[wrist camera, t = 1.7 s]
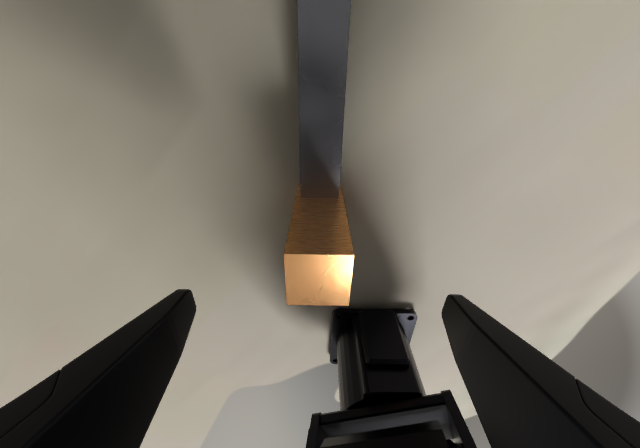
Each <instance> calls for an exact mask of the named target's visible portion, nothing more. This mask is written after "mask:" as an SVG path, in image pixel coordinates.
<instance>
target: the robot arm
mask: <svg viewBox="0 0 640 448" xmlns="http://www.w3.org/2000/svg"><path fill="white" fill-rule="evenodd" d="M195 313H196V304H195V301H194V298H193V294H192V291H191V290H189V289H178V290H176V291H175V292H173V293H172V294H170V295H169V296H167V297H166V298H164V299H163V300H161V301H160V302H158V303H157V304H155V305H154V306H152V307H151V308H149V309H148V310H146V311H145V312H144V313H142V314H141V315H139V316H138V317H136V318H135V319H133V320H132V321H130V322H129V323H127V324H126V325H124V326H123V327H121V328H120V329H118V330H117V331H116V332H114V333H113V334H111V335H110V336H108V337H107V338H105V339H104V340H102V341H101V342H99V343H98V344H96V345H95V346H93V347H92V348H90V349H89V350H87V351H86V352H85V353H83V354H82V355H80V356H79V357H77V358H76V359H74V360H73V361H71V362H70V363H68V364H67V365H65V366H64V367H63V368H62V369H61V370H58V371H56V372H55V373H53V374H52V375H50V376H49V377H48V378H46V379H45V380H43V381H42V382H40V383H39V384H37V385H36V386H34V387H33V388H31V389H29V390H28V391H26V392H25V393H23V394H22V395H20V396H19V397H17V398H16V399H14V400H13V401H11V402H9V403H8V404H6V405H5V406H3V407H1V408H0V448H140V445H141V443H142V441H143V439H144V437H145V434H146V432H147V430H148V428H149V426H150V423H151V421H152V419H153V417H154V415H155V412H156V410H157V408H158V406H159V404H160V401H161V399H162V397H163V395H164V393H165V390H166V388H167V386H168V384H169V381H170V379H171V377H172V375H173V373H174V370H175V368H176V366H177V364H178V362H179V359H180V357H181V354H182V352H183V349H184V346H185V343H186V340H187V337H188V334H189V331H190V328H191V325H192V322H193V319H194V316H195ZM442 319H443V322H444V325H445V329H446V332H447V335H448V339H449V342H450V345H451V349H452V352H453V355H454V358H455V361H456V363H457V366H458V368H459V371H460V373H461V376H462V378H463V381H464V383H465V385H466V388H467V390H468V393H469V395H470V397H471V400H472V402H473V405H474V407H475V409H476V412H477V414H478V417H479V419H480V421H481V424H482V426H483V428H484V431H485V433H486V436H487V438H488V440H489V443H490V445H491V448H640V422H639V421H637V420H636V419H634V418H633V417H631V416H629V415H628V414H627V413H625V412H624V411H622V410H620V409H619V408H618V407H616V406H615V405H613V404H612V403H611V402H609V401H608V400H606V399H605V398H604V397H602V396H601V395H599V394H598V393H596V392H595V391H594V390H592V389H591V388H589V387H588V386H587V385H585V384H584V383H582V382H581V381H580V380H578V379H575V377H574V376H573V375H571V374H570V373H569V372H567V371H566V370H564V369H563V368H562V367H560V366H559V365H557V364H556V363H555V362H553V361H552V360H551V359H549V358H548V357H546V356H545V355H544V354H542V353H541V352H540V351H538V350H537V349H535V348H534V347H533V346H531V345H530V344H528V343H527V342H526V341H524V340H523V339H522V338H520V337H519V336H517V335H516V334H515V333H513V332H512V331H510V330H509V329H508V328H506V327H505V326H504V325H502V324H501V323H499V322H498V321H497V320H495V319H494V318H492V317H491V316H490V315H488V314H487V313H486V312H484V311H483V310H481V309H480V308H479V307H477V306H476V305H474V304H473V303H472V302H470V301H469V300H468V299H466V298H465V297H463V296H462V295H457V294H450V295H448V296H447V298H446V301H445V303H444V306H443V309H442ZM416 320H417V315H416V312H415V311H414V310H410V309H352V308H338V309H335V310H334V311H333V317H332V332H331V347H330V362H331V363H333V364H338V378H339V394H340V411H337V412H330V413H325V414H321V413H315V414H312V418H311V424H310V428H309V431H308V437H307V444H306V448H477V447H476V445H475V443H474V440H473V438H472V436H471V434H470V432H469V430H468V427H467V425H466V423H465V421H464V419H463V417H462V415H461V412H460V410H459V408H458V406H457V404H456V402H455V400H454V397H453V395H452V393H451V391H450V390H445V391H441V393H438V394H433V395H427V396H426V393H425V390H424V387H423V384H422V381H421V378H420V375H419V372H418V369H417V366H416V363H415V360H414V357H413V354H412V351H411V348H410V345H409V344H410V341H411V337H412V334H413V330H414V327H415V324H416ZM450 439H453V441H454V442H452V441H451V440H450Z"/></svg>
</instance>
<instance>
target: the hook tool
mask: <svg viewBox="0 0 640 448" xmlns="http://www.w3.org/2000/svg"><path fill="white" fill-rule="evenodd" d="M350 8H351V0H297V14H298V75H299V135H300V184H299V185H298V189H297V194H296V199H295V204H294V208H293V213H292V218H291V222H290V227H289V232H288V237H287V241H286V246H285V251H284V266H285V283H286V301H287V305H329V306H349V300H350V291H351V281H352V272H353V263H354V251H353V246H352V241H351V236H350V230H349V225H348V220H347V214H346V209H345V204H344V199H343V193H342V188H341V185H340V170H341V154H342V138H343V121H344V105H345V89H346V73H347V57H348V40H349V24H350Z"/></svg>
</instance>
